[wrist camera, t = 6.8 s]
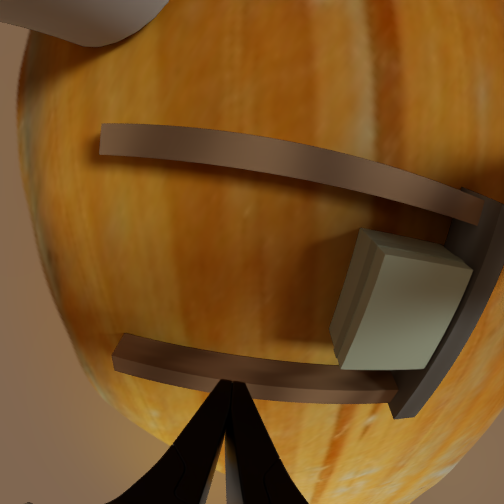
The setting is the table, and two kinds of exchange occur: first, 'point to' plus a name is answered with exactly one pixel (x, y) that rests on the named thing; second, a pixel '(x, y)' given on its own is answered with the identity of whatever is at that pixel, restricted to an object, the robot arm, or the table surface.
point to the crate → (395, 302)
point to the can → (82, 18)
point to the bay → (336, 174)
